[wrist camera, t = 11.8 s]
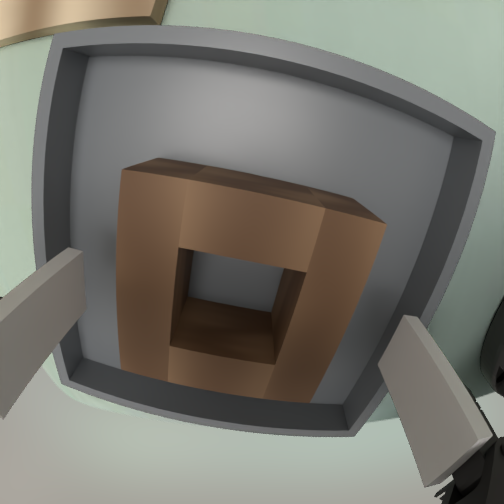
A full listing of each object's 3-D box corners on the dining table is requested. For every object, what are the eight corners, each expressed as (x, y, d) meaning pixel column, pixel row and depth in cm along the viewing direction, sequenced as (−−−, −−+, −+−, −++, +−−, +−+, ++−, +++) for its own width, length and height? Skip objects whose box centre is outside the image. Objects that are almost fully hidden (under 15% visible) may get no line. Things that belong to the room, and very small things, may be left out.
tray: (460, 128, 12) (495, 131, 9) (346, 405, 20) (354, 436, 17) (86, 45, 11) (54, 33, 8) (78, 356, 18) (61, 383, 15)
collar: (352, 198, 13) (387, 224, 9) (300, 350, 17) (309, 403, 13) (158, 157, 13) (121, 168, 9) (144, 321, 16) (120, 369, 12)
